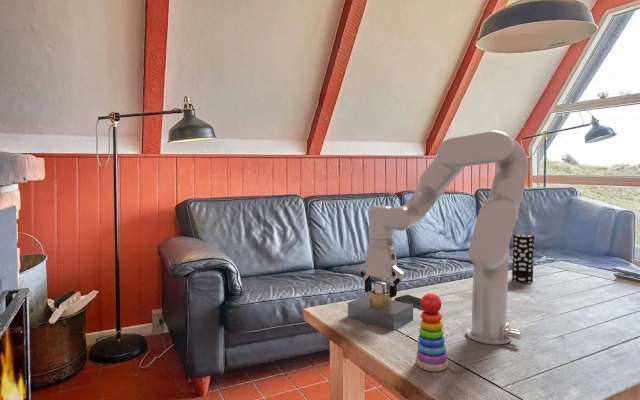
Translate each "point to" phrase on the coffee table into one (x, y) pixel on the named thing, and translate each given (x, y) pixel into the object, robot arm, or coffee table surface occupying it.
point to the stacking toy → (431, 336)
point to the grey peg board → (380, 310)
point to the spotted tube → (523, 258)
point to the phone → (410, 300)
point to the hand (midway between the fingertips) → (380, 294)
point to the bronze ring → (380, 299)
